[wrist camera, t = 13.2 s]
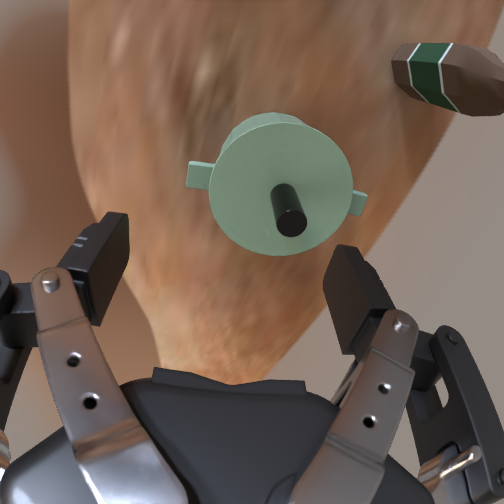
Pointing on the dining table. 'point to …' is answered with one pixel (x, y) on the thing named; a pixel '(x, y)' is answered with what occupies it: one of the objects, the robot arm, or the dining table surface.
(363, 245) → the dining table surface
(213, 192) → the lid
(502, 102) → the beer bottle
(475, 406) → the robot arm
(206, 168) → the pot
